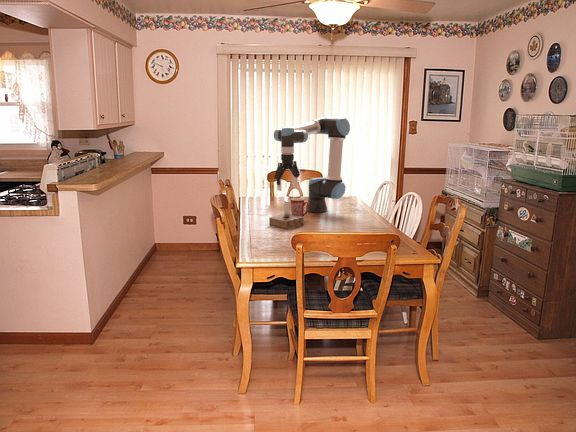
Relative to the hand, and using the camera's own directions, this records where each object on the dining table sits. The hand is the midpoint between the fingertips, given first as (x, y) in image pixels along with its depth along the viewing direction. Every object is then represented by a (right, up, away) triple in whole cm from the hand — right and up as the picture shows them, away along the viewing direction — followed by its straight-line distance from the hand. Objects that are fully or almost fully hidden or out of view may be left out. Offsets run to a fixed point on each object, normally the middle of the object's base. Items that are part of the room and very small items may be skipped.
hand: (287, 189), depth 286 cm
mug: (+8, -19, +20) cm, 29 cm away
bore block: (0, -22, +5) cm, 23 cm away
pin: (0, -21, +5) cm, 22 cm away
